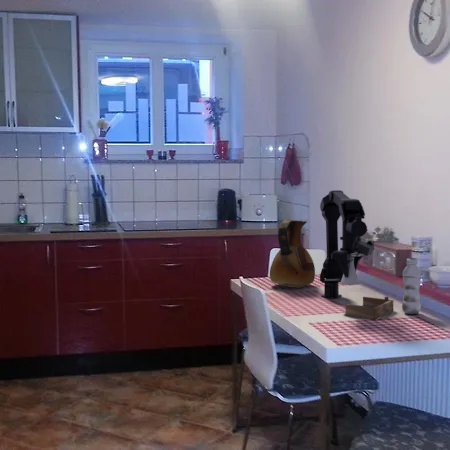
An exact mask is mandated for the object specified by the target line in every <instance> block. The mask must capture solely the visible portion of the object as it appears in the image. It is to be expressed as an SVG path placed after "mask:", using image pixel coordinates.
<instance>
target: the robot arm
mask: <svg viewBox="0 0 450 450" xmlns="http://www.w3.org/2000/svg"><path fill="white" fill-rule="evenodd" d="M319 204H320V206H319V208H320V211H321V216H322V218H323V220H324V221H325V232H326V233H325V235H326V238H325V239H326V258H325V260H324V261H323V263H322V268H321V270H320V274H319V281H320V282H321V283H323V284H324V287H323V288H324V294H322V295H321V296H320V297H321V298H328V299H337V298H338V299H339V298H340V297H342V296H343V295H342V294H339V284H340V283H341V280H342V277H343V274H344V276H345V277H346V278H348V276H349V268H350V263H351V262H352V261H353V260H354V267H355V271H356V272H357V269H358V267H359V264H360V261H362V259H364V258H365V257H368V256H371V255H372V253H373V251H375V250H376V249H375V243H374V241H372V240H367V241H366V242H365V241H362V237H363V236H365V234H366V233H367V231H368V226H367V224H366V222H364V221H363V219H365V215H366V213H365V210H364V206H363V205H362V203H361V201H360V200H359V199H358V198H350V197H349V196H347V195H346V194H345V193H344V191H343V190H338V189H337V190H330V191H329V193H328V194H327V195H325V196H324V197H322V199H321V201H320V203H319ZM340 217H341V221H342V228H341V230H342V233H341V234H342V235H341V236H340V237H339V234H338V233H339V231H338V230H339V228H338V227H339V226H338V221H339V219H340ZM339 240H340V241H342V243H341V244H342V247H340V249H339ZM351 256H352V257H354V259H351Z"/></svg>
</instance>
